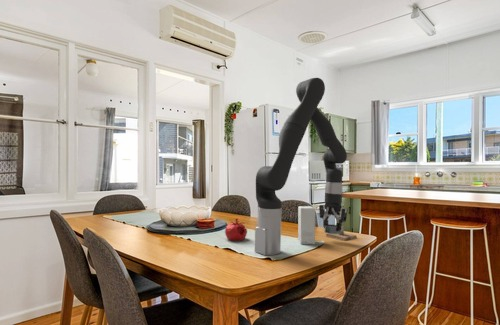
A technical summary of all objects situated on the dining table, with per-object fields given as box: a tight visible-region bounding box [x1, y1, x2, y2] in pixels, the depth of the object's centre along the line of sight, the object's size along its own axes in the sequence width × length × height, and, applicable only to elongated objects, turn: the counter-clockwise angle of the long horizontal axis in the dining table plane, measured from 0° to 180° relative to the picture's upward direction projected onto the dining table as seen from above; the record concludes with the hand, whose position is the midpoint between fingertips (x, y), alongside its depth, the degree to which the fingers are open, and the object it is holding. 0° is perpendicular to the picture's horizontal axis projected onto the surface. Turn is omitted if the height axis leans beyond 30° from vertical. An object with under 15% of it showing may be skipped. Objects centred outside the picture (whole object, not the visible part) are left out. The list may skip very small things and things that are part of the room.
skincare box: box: [297, 205, 316, 245], centre depth 136 cm, size 8×7×16 cm
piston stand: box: [325, 225, 357, 242], centre depth 148 cm, size 10×10×5 cm
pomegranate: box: [224, 217, 248, 242], centre depth 138 cm, size 10×10×9 cm
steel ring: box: [323, 223, 340, 234], centre depth 138 cm, size 6×6×3 cm
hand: (332, 229), depth 138 cm, fingers closed on steel ring, 6 cm apart
